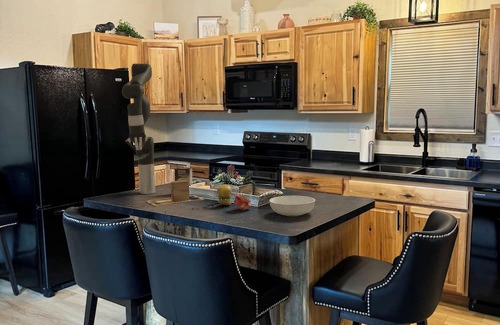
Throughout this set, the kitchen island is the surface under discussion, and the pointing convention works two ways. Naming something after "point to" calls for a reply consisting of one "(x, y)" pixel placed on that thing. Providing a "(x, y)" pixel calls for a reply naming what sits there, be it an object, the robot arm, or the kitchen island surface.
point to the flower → (241, 202)
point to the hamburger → (224, 194)
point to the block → (180, 191)
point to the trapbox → (168, 201)
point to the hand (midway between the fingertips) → (139, 156)
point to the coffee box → (183, 174)
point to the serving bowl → (292, 205)
